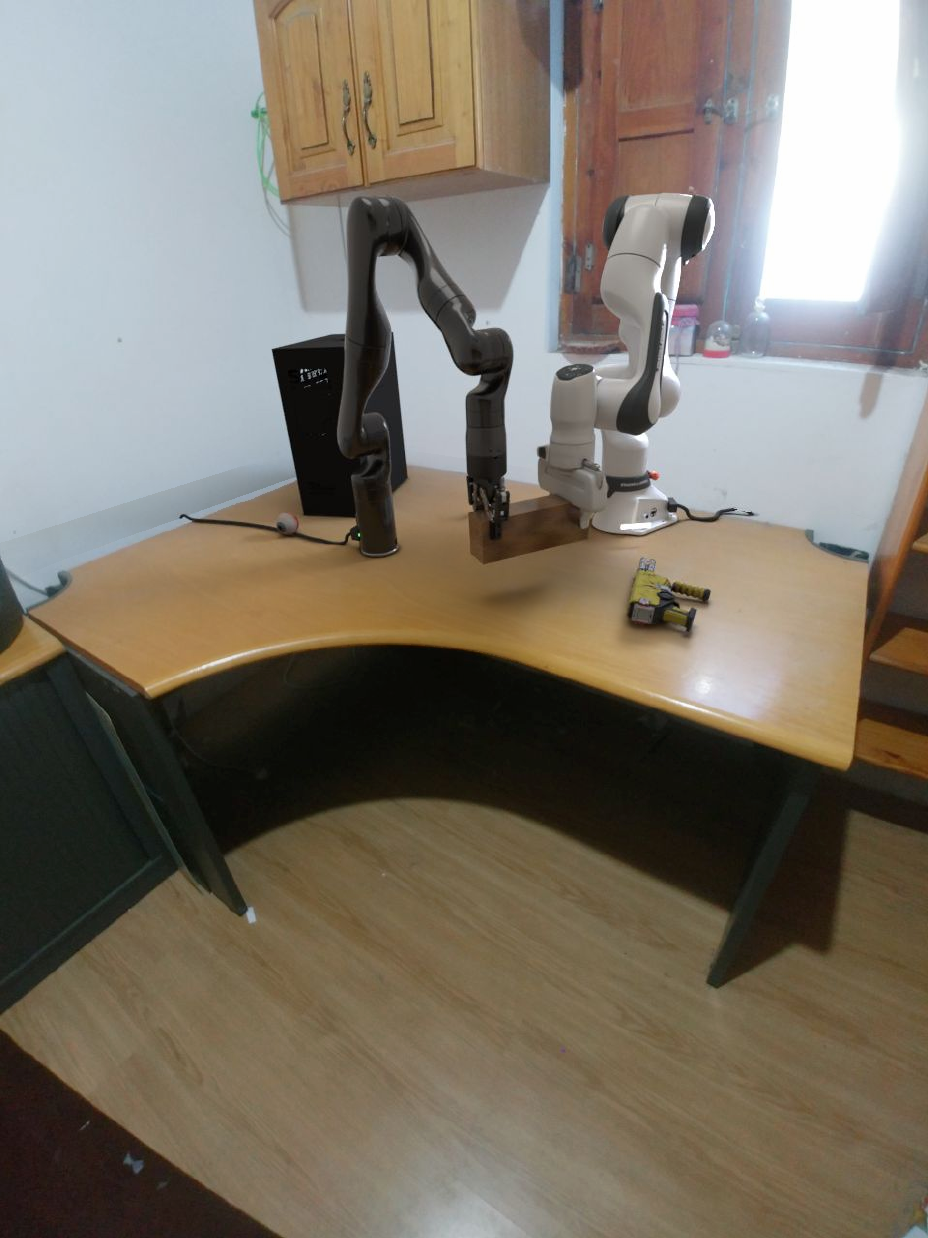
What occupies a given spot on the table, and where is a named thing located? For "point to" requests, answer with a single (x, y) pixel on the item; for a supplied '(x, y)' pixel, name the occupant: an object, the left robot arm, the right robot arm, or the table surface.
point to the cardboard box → (331, 422)
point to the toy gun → (660, 598)
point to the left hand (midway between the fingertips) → (488, 533)
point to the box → (526, 529)
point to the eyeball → (287, 523)
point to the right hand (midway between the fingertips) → (569, 520)
